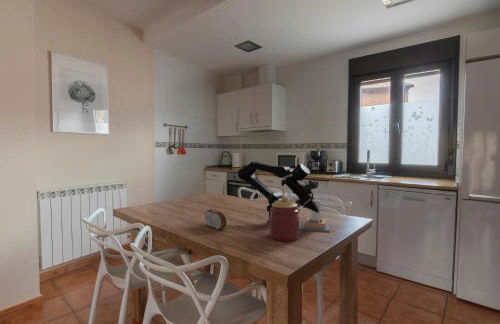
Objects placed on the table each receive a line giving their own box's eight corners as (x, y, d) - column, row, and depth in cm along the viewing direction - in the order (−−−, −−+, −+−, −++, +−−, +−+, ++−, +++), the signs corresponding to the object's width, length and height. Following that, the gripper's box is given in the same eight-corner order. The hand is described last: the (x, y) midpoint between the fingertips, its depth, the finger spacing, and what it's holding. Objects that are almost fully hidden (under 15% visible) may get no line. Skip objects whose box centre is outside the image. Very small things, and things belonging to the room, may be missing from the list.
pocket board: (301, 230, 124) (301, 223, 124) (303, 222, 137) (303, 216, 137) (329, 232, 121) (329, 225, 121) (329, 224, 133) (329, 218, 133)
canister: (283, 244, 105) (284, 200, 105) (263, 235, 116) (263, 195, 115) (305, 237, 113) (306, 197, 112) (284, 230, 123) (285, 193, 123)
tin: (226, 230, 124) (226, 212, 123) (221, 231, 122) (221, 213, 121) (209, 223, 135) (209, 207, 135) (204, 225, 133) (204, 208, 133)
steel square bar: (311, 226, 127) (311, 200, 127) (311, 224, 131) (311, 199, 131) (319, 227, 126) (320, 201, 126) (319, 224, 130) (320, 199, 130)
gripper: (306, 177, 120) (331, 202, 117) (308, 173, 138) (330, 195, 135) (288, 193, 122) (313, 218, 120) (293, 188, 140) (314, 209, 138)
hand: (318, 209), depth 128 cm, fingers open, 9 cm apart
